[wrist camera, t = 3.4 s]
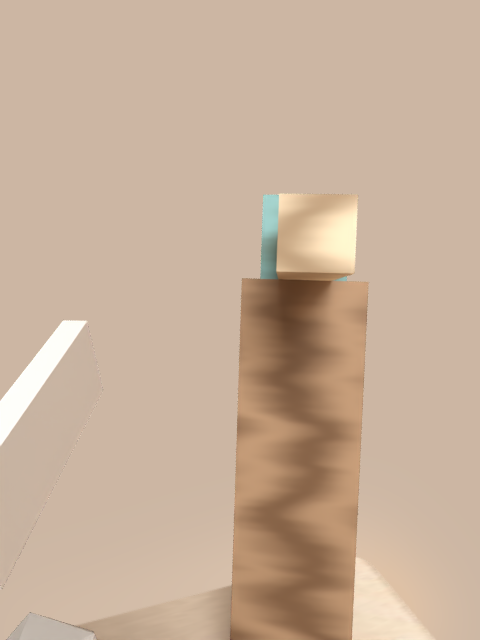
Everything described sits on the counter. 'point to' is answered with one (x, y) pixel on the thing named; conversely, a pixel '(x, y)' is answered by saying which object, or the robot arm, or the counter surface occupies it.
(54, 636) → the die
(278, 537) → the stand
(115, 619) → the counter surface
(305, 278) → the mallet
